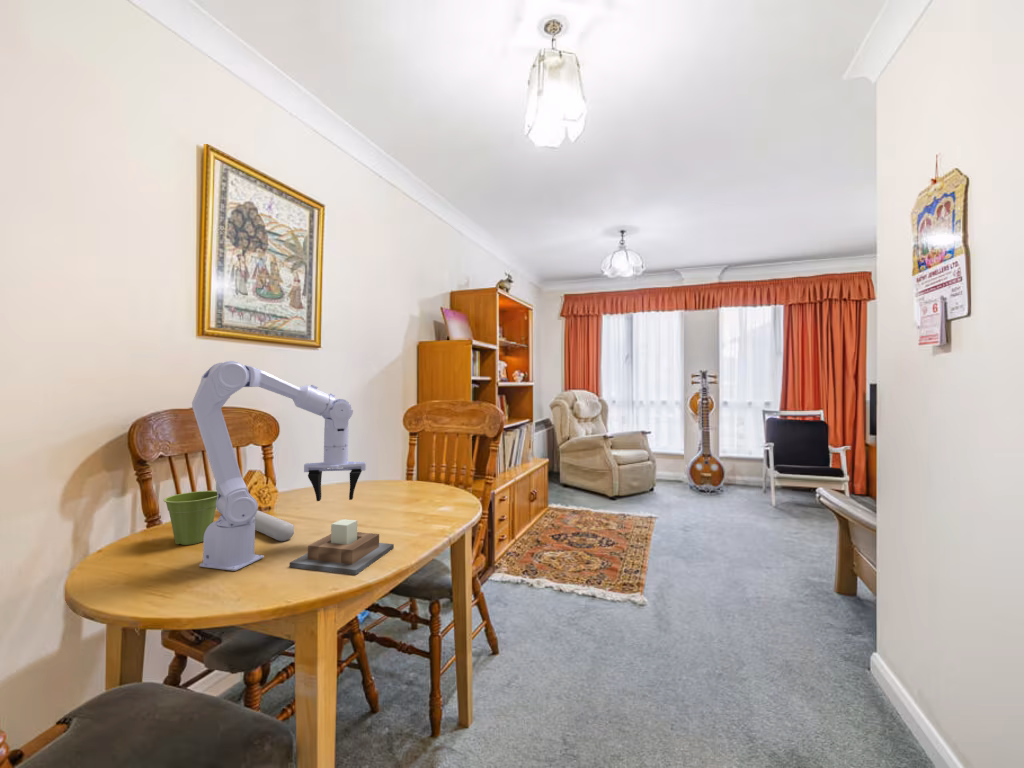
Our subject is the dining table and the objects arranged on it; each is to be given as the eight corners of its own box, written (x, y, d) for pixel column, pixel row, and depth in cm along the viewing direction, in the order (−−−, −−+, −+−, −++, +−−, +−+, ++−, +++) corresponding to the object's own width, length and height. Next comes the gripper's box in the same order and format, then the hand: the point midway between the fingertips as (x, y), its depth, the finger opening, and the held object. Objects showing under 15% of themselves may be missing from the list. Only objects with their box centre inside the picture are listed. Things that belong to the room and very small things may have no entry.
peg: (330, 555, 99) (331, 524, 99) (341, 549, 103) (342, 519, 103) (346, 557, 98) (346, 525, 98) (356, 550, 102) (357, 520, 102)
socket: (289, 567, 94) (289, 548, 94) (335, 542, 110) (335, 526, 110) (356, 574, 91) (356, 555, 91) (393, 548, 106) (394, 531, 106)
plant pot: (208, 530, 118) (209, 488, 118) (229, 538, 112) (230, 494, 112) (154, 542, 108) (155, 497, 109) (174, 552, 102) (175, 504, 102)
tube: (301, 523, 113) (257, 506, 128) (281, 521, 109) (238, 504, 124) (294, 545, 112) (250, 525, 127) (274, 543, 108) (231, 523, 123)
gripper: (301, 448, 106) (300, 504, 106) (364, 447, 109) (363, 502, 109) (308, 444, 113) (306, 497, 113) (367, 443, 116) (366, 495, 116)
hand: (335, 499), depth 111 cm, fingers open, 7 cm apart
